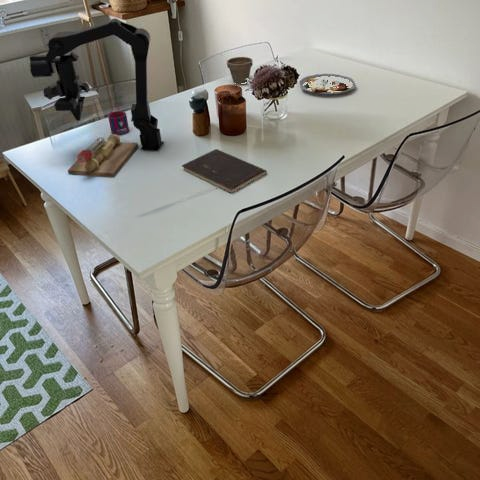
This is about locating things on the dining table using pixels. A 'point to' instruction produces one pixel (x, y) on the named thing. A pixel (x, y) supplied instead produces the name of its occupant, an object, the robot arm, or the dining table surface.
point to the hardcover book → (224, 170)
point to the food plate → (322, 90)
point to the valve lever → (90, 150)
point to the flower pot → (239, 68)
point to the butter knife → (199, 193)
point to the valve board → (105, 159)
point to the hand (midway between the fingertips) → (78, 120)
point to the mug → (118, 122)
